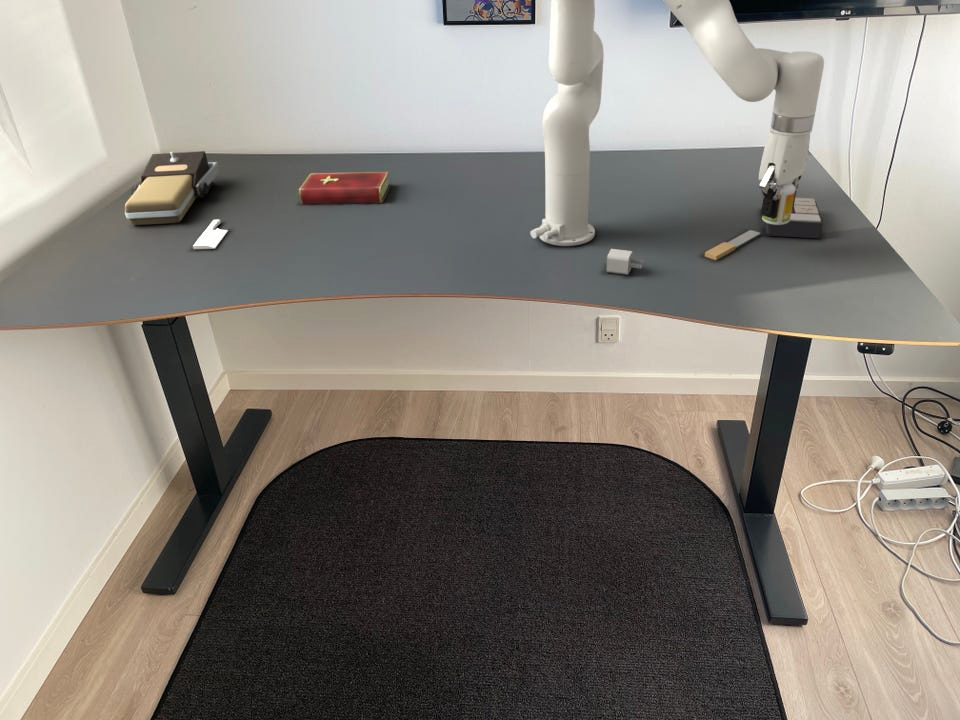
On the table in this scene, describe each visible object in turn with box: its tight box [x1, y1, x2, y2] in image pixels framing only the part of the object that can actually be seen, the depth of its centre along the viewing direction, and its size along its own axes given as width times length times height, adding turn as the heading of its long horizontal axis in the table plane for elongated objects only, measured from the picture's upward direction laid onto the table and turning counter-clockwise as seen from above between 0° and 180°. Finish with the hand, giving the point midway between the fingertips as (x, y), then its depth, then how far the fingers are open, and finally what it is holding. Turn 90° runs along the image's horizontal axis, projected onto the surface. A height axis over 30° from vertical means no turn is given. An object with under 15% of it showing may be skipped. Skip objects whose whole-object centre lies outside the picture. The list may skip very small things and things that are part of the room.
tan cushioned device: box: [124, 150, 220, 226], centre depth 201 cm, size 19×11×30 cm
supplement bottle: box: [761, 179, 795, 225], centre depth 156 cm, size 5×5×10 cm
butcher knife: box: [192, 219, 229, 250], centre depth 185 cm, size 5×15×1 cm, turn 178°
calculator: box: [764, 197, 824, 239], centre depth 175 cm, size 11×4×15 cm
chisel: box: [704, 229, 762, 261], centre depth 168 cm, size 17×3×1 cm, turn 132°
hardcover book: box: [298, 171, 391, 205], centre depth 202 cm, size 12×21×4 cm, turn 86°
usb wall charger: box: [606, 248, 645, 276], centre depth 159 cm, size 4×7×4 cm, turn 69°
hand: (777, 211), depth 158 cm, fingers closed on supplement bottle, 5 cm apart
